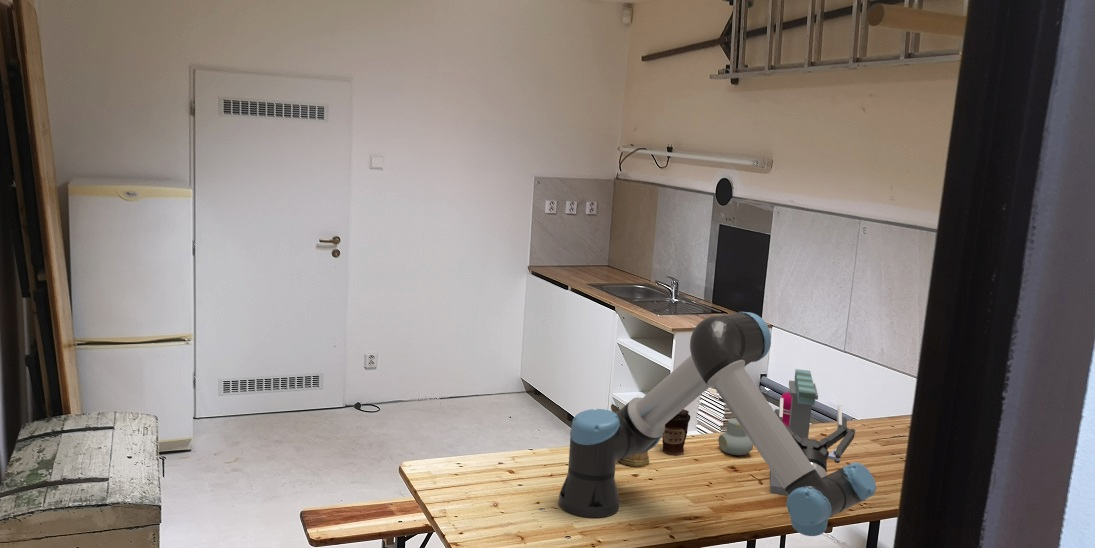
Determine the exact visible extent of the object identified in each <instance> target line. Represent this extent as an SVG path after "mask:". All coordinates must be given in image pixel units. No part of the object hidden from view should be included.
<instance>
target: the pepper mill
mask: <svg viewBox="0 0 1095 548" xmlns="http://www.w3.org/2000/svg"><path fill="white" fill-rule="evenodd" d="M787 391H788V392H784V393H783V394H782V395H781V396H780V398H783V418H782V422H783V423H784V424H785V425H786V426H787V427H788V428H789V420H790V411H791V401H792V396H790V389H789V388H788V390H787Z"/></svg>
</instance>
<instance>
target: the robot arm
mask: <svg viewBox="0 0 1095 548" xmlns="http://www.w3.org/2000/svg"><path fill="white" fill-rule="evenodd" d="M770 331H771V329H770V328H769V326H768V324H767V323H766V321H765V320H764V319H763V318H762V317H761V316H760V315H758V314H756V313H755V312H754V313H753V312H748V311H747V312H746V311H738V312H735V313H730V314H724V315H713V316H709V317H706V318H705V319H703V320H701V321H700V322H699V323H698V324H696V326H695V328H694V329H693V331H692V333H691V336H690V340H689V351H690V356H688V357H687V358H686V359H685V360H684V361H682V362H681V363H680V364H679V365H678V366H677V367H676V368H674V370H673V371H671V372H670V373H669V374H668V375H667V376H666V377H665V378H663V379H662V380H661V381H660V382H659V383H658V384H657V385H656V386H654V387H653V388H651V390H650V391H648V392H647V393H646V395H644V396H643V397H639V396H638V397H634V398H632V399H631V400H629V401H628V402H627V403H626V404H625V405H624V406H623V407H622V408H619V409H620V410H619V411H617V412H615V413H614V412H612V410H609V409H605V408H604V409H602V408H601V409H600V408H596V409H592V408H591V409H586V410H583V411H580V412H579V413H577V414H576V415H575V416H574V417H573V419H572V422H571V429H570V432H569V435H570V439H569V452H568V455H569V456H568V467H567V468H568V470H567V474H566V477H565V480H564V482H563V485H562V487H561V489H560V491H559V494H558V495H559V496H558V504H559V507H560V508H561V509H562V510H564V511H565V512H567V513H569V514H572V515H575V516H579V517H584V518H605V517H610V516H612V515H615V514H616V513H617V512H618V511H619V510H620V496H619V491H618V488H617V483H616V478H615V474H616V464H617V463H616V462H617V461H619V459H622V458H625V457H629V456H632V455H635V454H640V453H643V452H647V451H648V452H649V451H650V450H652V449H653V448H654V447H656V446H657V445H658V443H659V442H660V440H661V438H662V437H663V433H664V430H665V424H666V423H667V422H668V421H670V420H671V419H672V418H673V417H674V416H676V415H677V414H678V413H679V412H680V411H682V410H683V409H684V410H685V408H687V407H688V406H689V405H690V404H691V403H693V402H694V401H695V400H696V399H697V398H698V397H700V396H701V395H702V394H703V393H704V392H706V391H707V390H708V389H710V388H712V389H715V391H716V392H717V393H718V395H719V397H720V398H721V399H722V402H724V404H725V405H726V406H727V408H728V409H729V411H730V412H731V414H732V415H733V417H734V418H736V420H737V421H738V423H739V424H740V426H741V427H742V429H743V430H744V431H745V433H746V435H747V436H748V437H749V439H750V440H751V442H752V443H753V447H755V449H756V450H757V453H758V454H760V457H761V458H762V459H763V460H764V462H765V464H766V465H767V466H768V468H769V470H770V469H771V471H772V472H773V474H774V475H775V477H776V478H777V479H778V481H779V482H780V484H781V485H782V487H783V488H784V490H785V491H786V493H787V494H788V496H787V499H786V507H787V512H788V514H789V516H790V523H791V526H792V528H793V529H794V530H795V531H796V532H798V533H799V534H801V535H803V536H806V537H816V536H817V537H818V536H821V535H823V534H824V533H825V532H826V530H827V528H828V523H829V521H828V520H829V519H830V518H833V517H834V516H836V515H838V514H840V513H842V512H844V511H846V510H848V509H850V508H852V507H853V506H855V505H858V504H860V503H862V502H864V501H866V500H868V499H869V498H871V497H873V496H874V495H875V494H876V491H877V485H876V481H875V478H874V477H873V475H872V473H871V471H870V470H869V469H868V467H866V466H865V465H864V464H862V463H859V462H852V463H850V464H847V465H844V466H842V468H839V469H837V470H836V471H834V472H832V473H829V474H827V471H828V470H827V469H828V467H827V466H828V465H827V464H828V463H827V462H828V461H827V460H828V459H829V460H834V462H835V464H840V462H841V457H842V455H843V454H844V453H845V451H846V450H847V448H848V447H849V446H850V445H851V443H852V442H853V441H854V438H855V436H856V429H854V428H849V427H848V422H847V417H843V414H842V413H843V412H842V411H843V410H842V409H843V408H842V407H843V406H842V405H841V404H838V405H837V411H836V430H835V431H833V432H832V433H830V434H829V435H828V436H826V437H823V438H821V439H820V440H818V439H816V438H809V437H808V438H803V439H801V438H800V437H799V436H798V435H797V434H794V433H793V432H792V431H791V430H790V429H789V428H788V427H787V426H786V425H785V424H784V423H783V422H782V418H783V398H781V397H780V398H779V406H778V407H779V408H775V409H773V407H772V406H771V405H770V403H769V402H768V400H767V399H766V397H765V396H764V394H763V393H762V392H761V390H760V389H759V388H758V386H757V385H756V383H755V382H754V380H752V378H751V376H750V374H749V373H748V371H747V370H746V369H745V367H746V366H747V365H749V364H751V363H755V362H759V361H760V360H762V359H763V358H765V356H767V354H768V353H769V352H770V349H771V346H772V345H771V344H772V342H771V341H772V334H771V332H770ZM839 441H840V442H839ZM838 442H839V443H838ZM836 443H838V445H837V446H836V449H833V450H832V451H831V452H830V451H829V450H828V449H830V447H832V446H833V445H835V444H836Z"/></svg>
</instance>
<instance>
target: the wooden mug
mask: <svg viewBox="0 0 1095 548" xmlns="http://www.w3.org/2000/svg"><path fill="white" fill-rule="evenodd" d="M620 409H621V408H619V407H618V406H617V405H615V404H613V403H612V404H611V405H610V411H612V412H614V413H615V412H617V411H619V410H620ZM618 461H619V463H620V462H621V463H620V464H622V463H623V464H622V465H624V464H625V465H624V466H627V465H629V466H628V467H632V466H638V467H637V468H640V467H639V466H643V467H645V465H646V466H647V465H649V464H650V456H649V451H647V452H643V453H640V454H635V455H632V456H629V457H625V458H622V459H619V460H618Z"/></svg>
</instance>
